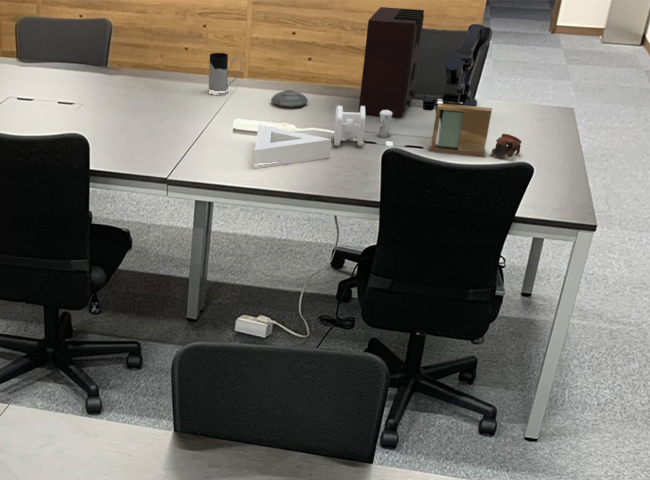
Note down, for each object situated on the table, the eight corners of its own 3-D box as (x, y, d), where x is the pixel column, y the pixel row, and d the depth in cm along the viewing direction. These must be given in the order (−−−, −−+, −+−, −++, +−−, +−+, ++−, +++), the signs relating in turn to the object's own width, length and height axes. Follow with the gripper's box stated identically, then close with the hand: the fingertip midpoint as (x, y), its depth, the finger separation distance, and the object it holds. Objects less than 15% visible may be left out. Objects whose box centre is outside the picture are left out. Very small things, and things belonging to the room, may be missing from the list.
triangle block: (253, 168, 333) (254, 150, 329) (221, 147, 352) (221, 129, 348) (329, 157, 343) (331, 139, 339) (293, 137, 362) (295, 119, 358)
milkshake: (391, 138, 361) (395, 110, 355) (376, 137, 362) (380, 109, 356) (391, 134, 364) (395, 106, 358) (377, 133, 365) (380, 105, 359)
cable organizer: (362, 149, 350) (365, 116, 343) (332, 148, 351) (335, 115, 344) (361, 137, 362) (365, 104, 355) (333, 135, 363) (336, 103, 356)
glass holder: (206, 90, 413) (206, 52, 404) (239, 89, 415) (240, 51, 406) (208, 96, 406) (209, 57, 397) (242, 95, 408) (244, 56, 399)
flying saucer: (315, 105, 395) (316, 91, 392) (286, 111, 389) (287, 97, 385) (291, 97, 405) (292, 83, 402) (263, 102, 399) (264, 88, 395)
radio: (358, 114, 385) (368, 17, 364) (370, 97, 406) (380, 4, 384) (405, 119, 381) (419, 21, 359) (415, 101, 401) (428, 7, 380)
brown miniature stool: (484, 154, 348) (495, 131, 346) (505, 165, 351) (516, 142, 349) (501, 155, 337) (512, 132, 335) (522, 166, 340) (534, 143, 338)
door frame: (431, 146, 353) (438, 102, 343) (485, 152, 348) (493, 107, 338) (429, 151, 349) (436, 106, 339) (483, 156, 344) (492, 111, 334)
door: (440, 139, 354) (445, 105, 346) (465, 142, 351) (471, 108, 344) (437, 145, 348) (443, 111, 341) (463, 148, 346) (469, 113, 339)
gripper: (427, 71, 345) (418, 112, 343) (481, 76, 340) (472, 117, 338) (427, 89, 356) (418, 128, 354) (479, 93, 351) (470, 134, 349)
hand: (444, 126), depth 348 cm, fingers closed on door, 2 cm apart
